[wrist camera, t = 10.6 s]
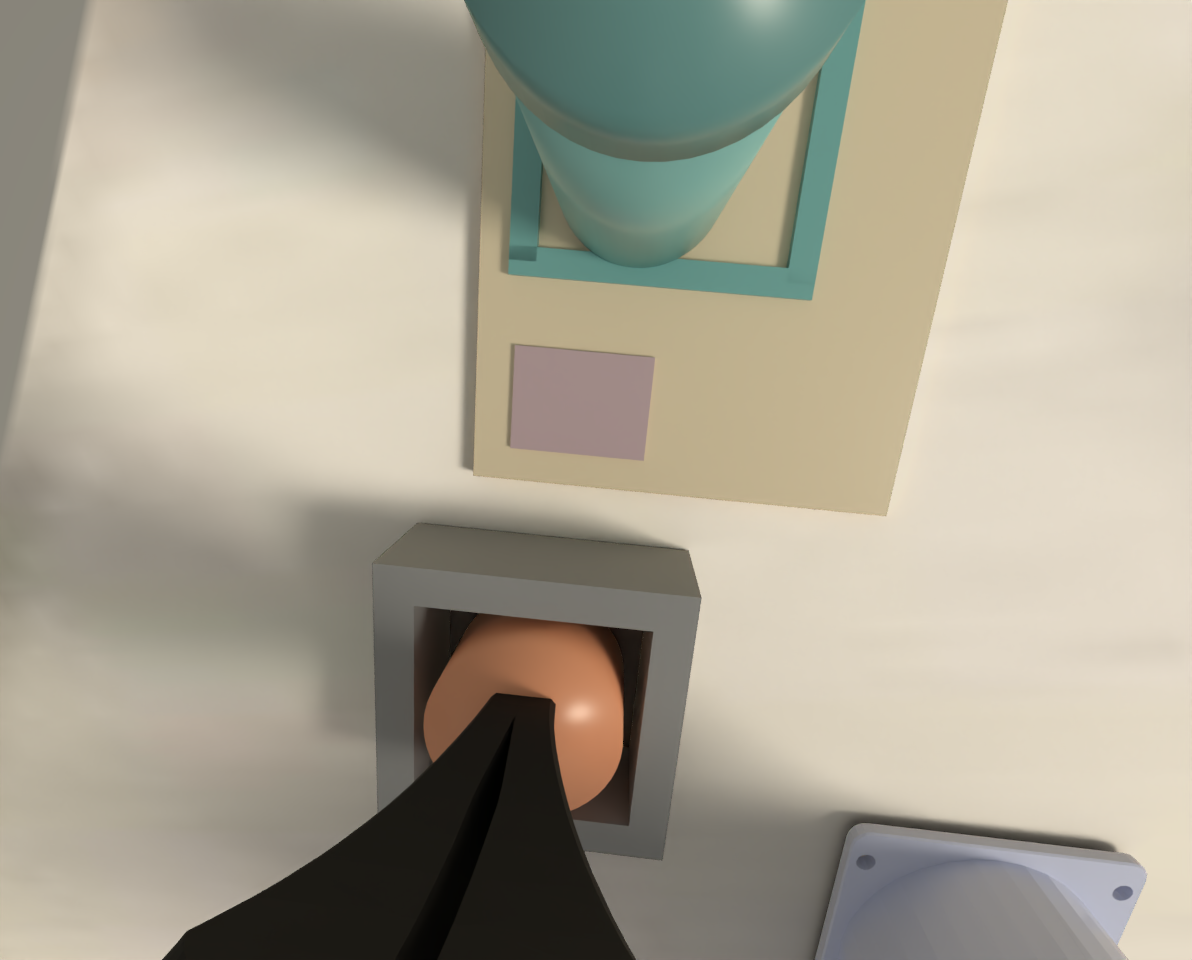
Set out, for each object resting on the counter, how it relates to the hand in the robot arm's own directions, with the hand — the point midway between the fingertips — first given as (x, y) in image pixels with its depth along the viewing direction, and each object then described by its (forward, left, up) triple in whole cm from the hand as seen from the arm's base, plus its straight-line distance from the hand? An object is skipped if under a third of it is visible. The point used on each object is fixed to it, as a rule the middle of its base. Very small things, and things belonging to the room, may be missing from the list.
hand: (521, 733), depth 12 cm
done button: (0, 0, -2) cm, 2 cm away
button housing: (0, 0, -3) cm, 3 cm away
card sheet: (+11, -3, -3) cm, 12 cm away
